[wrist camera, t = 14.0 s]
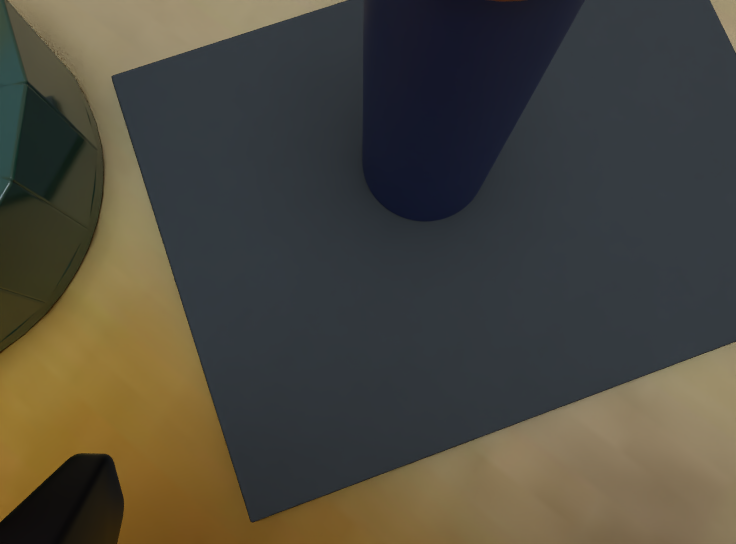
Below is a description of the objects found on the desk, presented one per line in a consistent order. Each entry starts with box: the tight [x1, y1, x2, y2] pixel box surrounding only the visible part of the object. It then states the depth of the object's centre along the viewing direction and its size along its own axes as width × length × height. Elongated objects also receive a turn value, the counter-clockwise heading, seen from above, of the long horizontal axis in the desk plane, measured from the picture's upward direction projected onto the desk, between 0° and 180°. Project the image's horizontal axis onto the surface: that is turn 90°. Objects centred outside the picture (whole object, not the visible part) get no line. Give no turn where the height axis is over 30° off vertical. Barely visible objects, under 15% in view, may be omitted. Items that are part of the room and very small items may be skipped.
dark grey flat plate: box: [112, 0, 736, 522], centre depth 18 cm, size 12×16×1 cm
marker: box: [362, 0, 585, 221], centre depth 12 cm, size 3×3×12 cm
